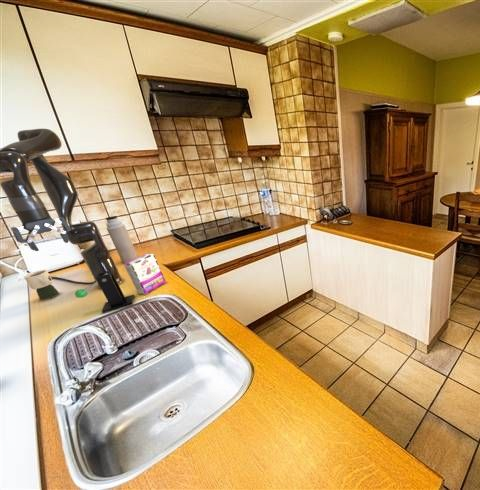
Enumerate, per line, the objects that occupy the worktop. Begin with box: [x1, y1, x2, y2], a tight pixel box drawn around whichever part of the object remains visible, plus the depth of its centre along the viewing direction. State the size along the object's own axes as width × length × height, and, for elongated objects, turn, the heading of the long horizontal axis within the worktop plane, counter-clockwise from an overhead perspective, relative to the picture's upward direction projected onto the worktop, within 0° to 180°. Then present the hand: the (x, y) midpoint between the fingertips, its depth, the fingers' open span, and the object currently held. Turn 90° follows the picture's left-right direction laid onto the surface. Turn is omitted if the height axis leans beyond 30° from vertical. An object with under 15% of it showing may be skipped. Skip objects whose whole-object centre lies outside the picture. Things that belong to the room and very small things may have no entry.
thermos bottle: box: [105, 215, 139, 264], centre depth 158 cm, size 8×8×28 cm
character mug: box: [23, 269, 60, 301], centre depth 125 cm, size 11×7×13 cm, turn 63°
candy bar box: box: [123, 253, 167, 295], centre depth 127 cm, size 11×5×16 cm, turn 168°
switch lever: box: [74, 273, 112, 299], centre depth 112 cm, size 13×4×4 cm, turn 124°
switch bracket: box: [96, 270, 135, 314], centre depth 115 cm, size 10×8×16 cm
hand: (52, 246), depth 107 cm, fingers open, 8 cm apart
